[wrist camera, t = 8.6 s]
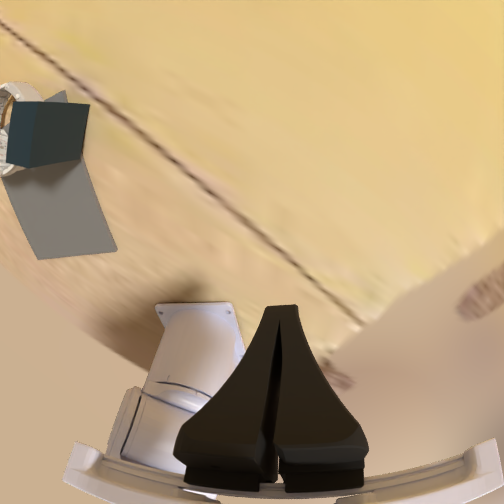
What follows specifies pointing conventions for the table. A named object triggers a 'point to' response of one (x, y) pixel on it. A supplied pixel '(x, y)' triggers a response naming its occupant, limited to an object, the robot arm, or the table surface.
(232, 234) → the table surface
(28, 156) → the watch
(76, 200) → the mat
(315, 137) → the table surface
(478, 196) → the table surface
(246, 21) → the table surface
